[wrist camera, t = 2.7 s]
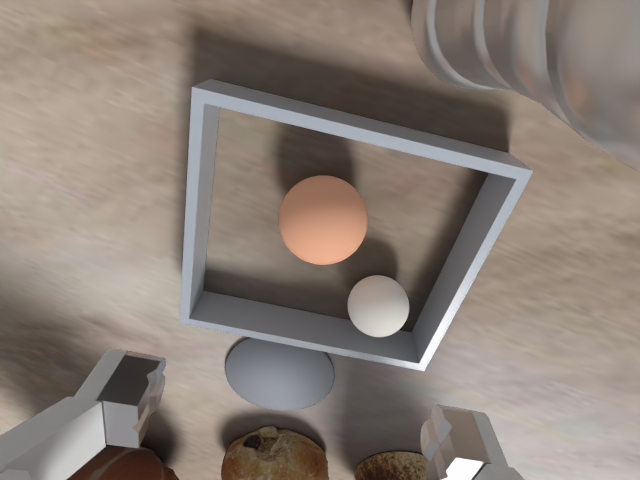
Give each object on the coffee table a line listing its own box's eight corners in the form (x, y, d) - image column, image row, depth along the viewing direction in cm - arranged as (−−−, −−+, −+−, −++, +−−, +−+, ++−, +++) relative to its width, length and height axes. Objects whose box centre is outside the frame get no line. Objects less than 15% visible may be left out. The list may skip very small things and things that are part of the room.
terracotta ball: (374, 173, 22) (384, 210, 18) (352, 244, 24) (355, 291, 20) (292, 154, 22) (281, 186, 17) (277, 227, 24) (265, 271, 20)
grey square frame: (509, 153, 21) (533, 170, 18) (416, 339, 28) (424, 371, 26) (210, 78, 20) (191, 86, 17) (194, 295, 27) (179, 323, 25)
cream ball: (412, 270, 25) (424, 309, 22) (393, 313, 27) (401, 355, 24) (355, 258, 25) (358, 295, 22) (340, 302, 27) (341, 343, 24)
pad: (346, 345, 29) (346, 348, 29) (320, 415, 34) (320, 418, 33) (232, 322, 28) (231, 325, 28) (221, 397, 33) (220, 400, 33)
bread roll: (312, 392, 38) (288, 443, 30) (350, 484, 38) (336, 558, 30) (230, 416, 40) (188, 469, 32) (266, 502, 40) (233, 575, 33)
